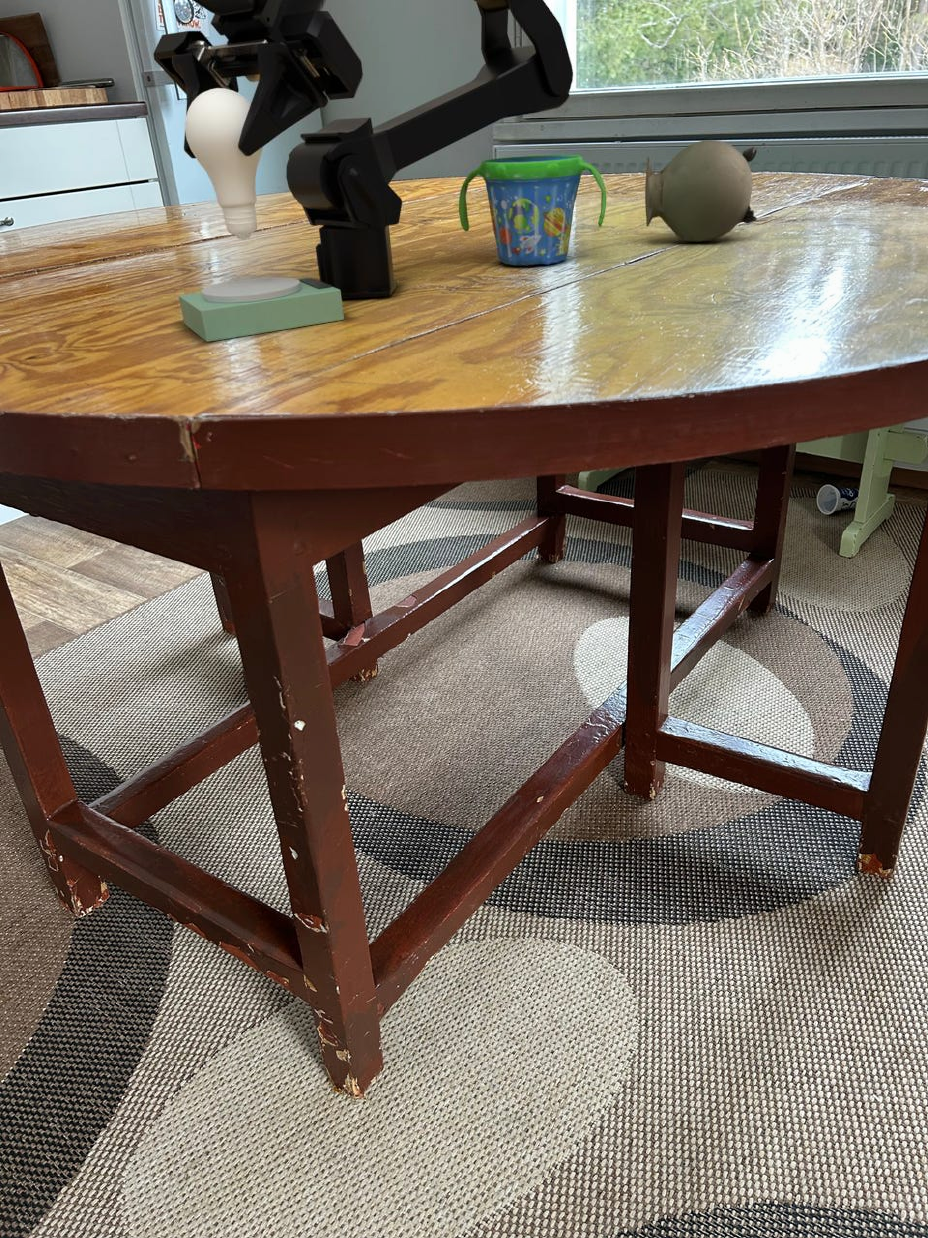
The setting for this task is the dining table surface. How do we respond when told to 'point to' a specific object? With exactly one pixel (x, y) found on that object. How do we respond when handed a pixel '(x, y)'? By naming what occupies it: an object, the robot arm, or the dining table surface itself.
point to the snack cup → (531, 205)
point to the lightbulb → (225, 155)
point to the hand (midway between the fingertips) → (215, 153)
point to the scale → (260, 306)
